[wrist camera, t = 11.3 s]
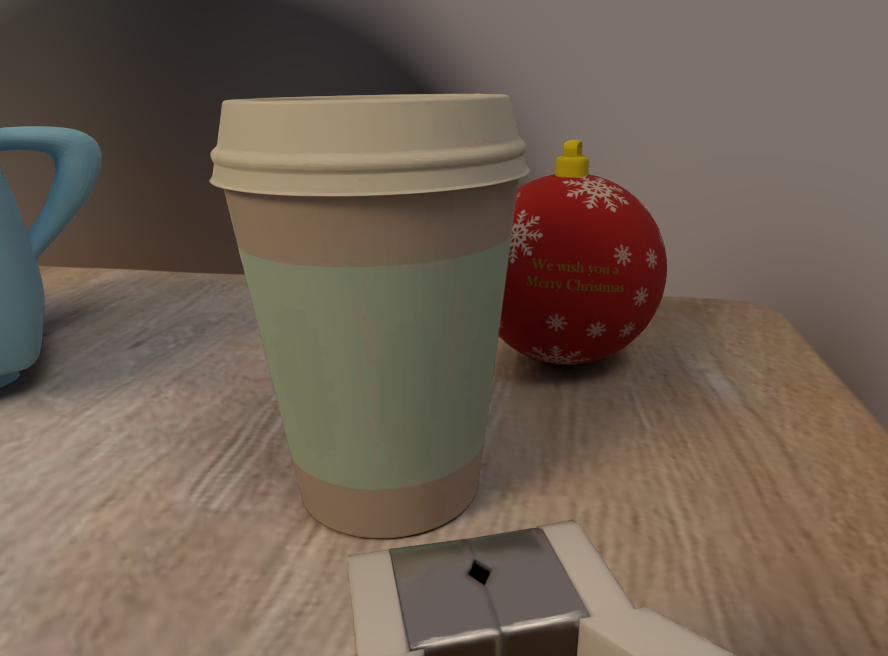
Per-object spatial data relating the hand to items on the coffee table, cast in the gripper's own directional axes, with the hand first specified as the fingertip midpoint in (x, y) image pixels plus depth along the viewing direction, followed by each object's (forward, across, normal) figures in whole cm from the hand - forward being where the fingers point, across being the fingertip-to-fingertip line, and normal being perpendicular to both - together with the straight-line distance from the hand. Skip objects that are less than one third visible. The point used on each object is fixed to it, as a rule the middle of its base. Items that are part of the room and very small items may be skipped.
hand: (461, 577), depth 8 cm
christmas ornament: (+20, -10, +6) cm, 23 cm away
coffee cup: (+12, 0, +6) cm, 13 cm away
